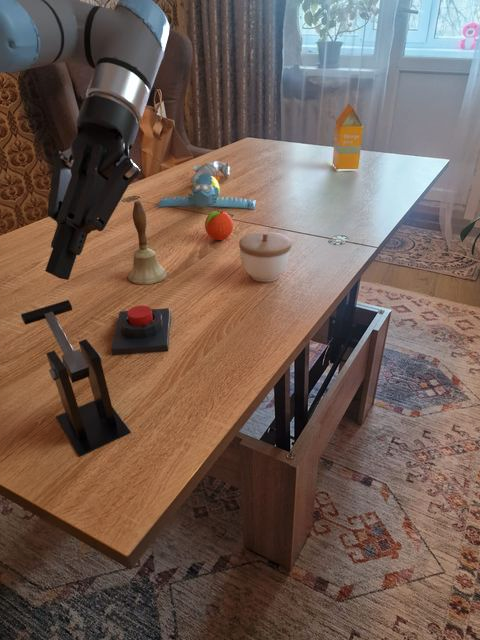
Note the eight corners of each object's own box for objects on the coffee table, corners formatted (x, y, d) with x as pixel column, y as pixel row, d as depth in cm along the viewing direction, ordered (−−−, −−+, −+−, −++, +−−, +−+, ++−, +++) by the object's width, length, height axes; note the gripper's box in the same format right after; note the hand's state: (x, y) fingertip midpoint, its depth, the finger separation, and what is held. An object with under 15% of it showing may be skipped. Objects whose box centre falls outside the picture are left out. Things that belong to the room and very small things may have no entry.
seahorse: (220, 187, 150) (236, 161, 164) (185, 173, 149) (204, 148, 163) (216, 201, 153) (232, 175, 168) (182, 187, 153) (201, 162, 167)
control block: (113, 360, 78) (108, 340, 76) (121, 321, 88) (117, 302, 86) (169, 356, 79) (166, 336, 77) (171, 318, 89) (168, 299, 87)
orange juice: (353, 164, 175) (359, 103, 164) (358, 171, 168) (365, 108, 156) (331, 165, 175) (336, 104, 163) (336, 172, 168) (341, 108, 156)
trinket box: (275, 291, 97) (276, 248, 92) (230, 280, 101) (228, 237, 96) (298, 271, 105) (300, 229, 99) (255, 260, 109) (255, 220, 103)
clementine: (218, 248, 115) (216, 219, 111) (197, 241, 118) (194, 213, 114) (239, 237, 120) (238, 209, 116) (218, 231, 123) (217, 204, 119)
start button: (127, 327, 80) (125, 318, 79) (130, 314, 83) (128, 306, 82) (152, 325, 80) (150, 316, 79) (153, 313, 83) (152, 304, 82)
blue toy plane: (256, 168, 139) (252, 185, 127) (257, 198, 145) (252, 216, 133) (162, 166, 141) (148, 183, 129) (165, 195, 146) (152, 214, 134)
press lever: (22, 320, 62) (19, 309, 60) (68, 306, 65) (67, 295, 63) (56, 389, 58) (55, 379, 56) (104, 370, 61) (104, 360, 59)
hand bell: (141, 265, 107) (129, 193, 98) (174, 270, 105) (165, 197, 96) (120, 281, 101) (105, 206, 92) (155, 287, 99) (143, 211, 89)
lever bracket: (57, 422, 67) (31, 347, 59) (106, 402, 70) (87, 328, 63) (81, 462, 61) (55, 384, 53) (132, 438, 64) (115, 361, 57)
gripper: (167, 133, 66) (114, 293, 64) (90, 126, 70) (38, 276, 68) (139, 95, 59) (78, 274, 56) (55, 90, 63) (-4, 256, 61)
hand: (56, 275), depth 62 cm, fingers closed
